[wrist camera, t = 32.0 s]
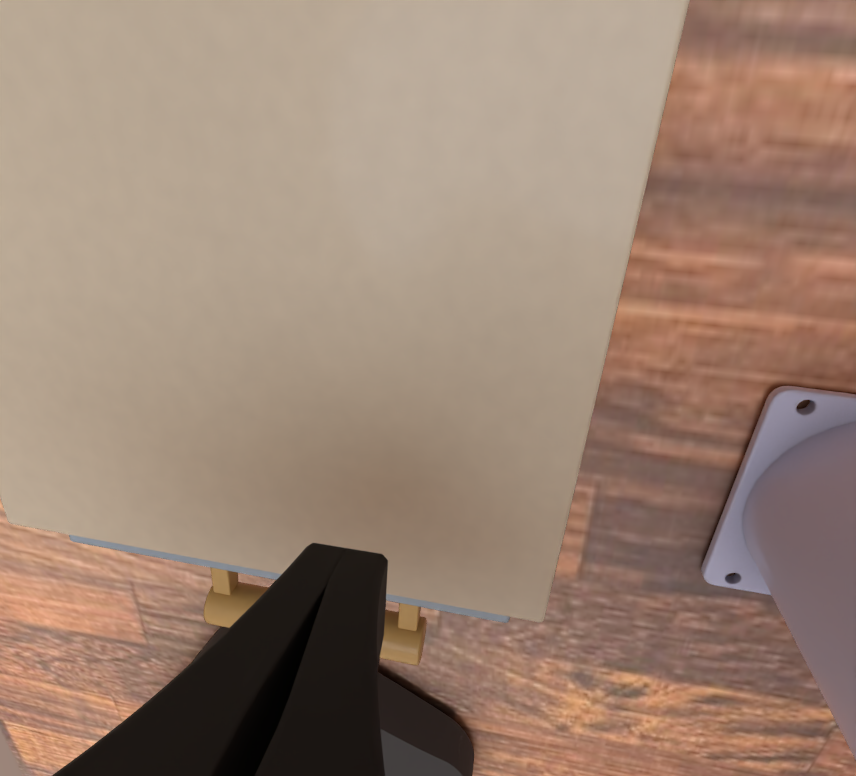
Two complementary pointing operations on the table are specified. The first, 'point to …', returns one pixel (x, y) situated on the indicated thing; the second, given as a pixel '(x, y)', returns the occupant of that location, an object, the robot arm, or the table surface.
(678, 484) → the table surface
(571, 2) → the cabinet
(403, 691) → the media streaming box
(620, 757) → the table surface
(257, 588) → the drawer
